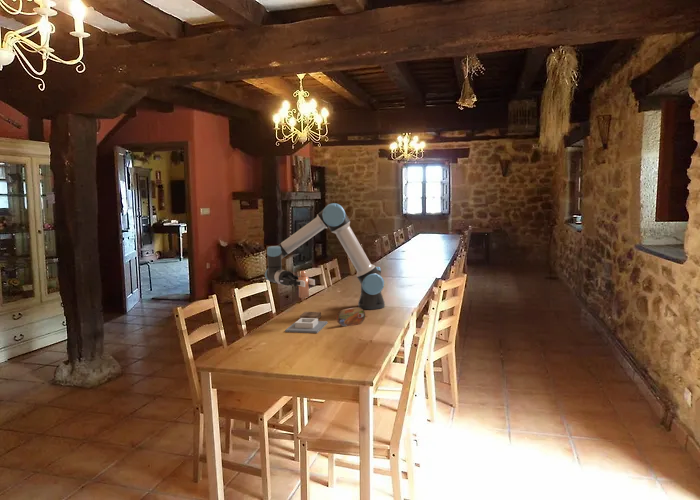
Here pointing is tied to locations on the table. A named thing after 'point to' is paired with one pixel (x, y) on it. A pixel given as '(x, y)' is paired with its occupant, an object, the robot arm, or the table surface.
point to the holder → (306, 325)
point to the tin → (351, 316)
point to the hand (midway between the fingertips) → (309, 283)
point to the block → (311, 315)
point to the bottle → (305, 290)
